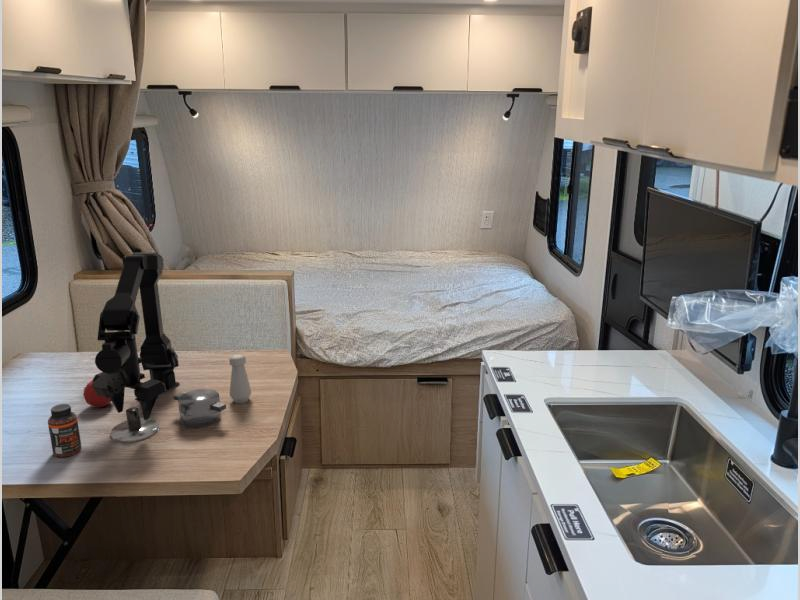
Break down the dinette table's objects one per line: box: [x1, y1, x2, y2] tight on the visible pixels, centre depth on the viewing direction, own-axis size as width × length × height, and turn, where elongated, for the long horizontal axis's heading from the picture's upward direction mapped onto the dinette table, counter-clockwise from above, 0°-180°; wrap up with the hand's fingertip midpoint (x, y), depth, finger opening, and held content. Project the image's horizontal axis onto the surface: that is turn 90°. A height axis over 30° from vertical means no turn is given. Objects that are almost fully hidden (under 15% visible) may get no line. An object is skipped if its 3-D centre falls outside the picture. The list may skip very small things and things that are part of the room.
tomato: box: [82, 379, 112, 408], centre depth 166 cm, size 8×8×8 cm
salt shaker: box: [229, 353, 252, 404], centre depth 168 cm, size 6×6×13 cm
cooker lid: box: [110, 406, 160, 443], centre depth 153 cm, size 11×11×6 cm
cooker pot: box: [172, 388, 227, 429], centre depth 158 cm, size 16×10×6 cm, turn 63°
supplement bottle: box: [47, 403, 82, 458], centre depth 142 cm, size 6×6×11 cm
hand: (133, 415), depth 152 cm, fingers open, 9 cm apart
